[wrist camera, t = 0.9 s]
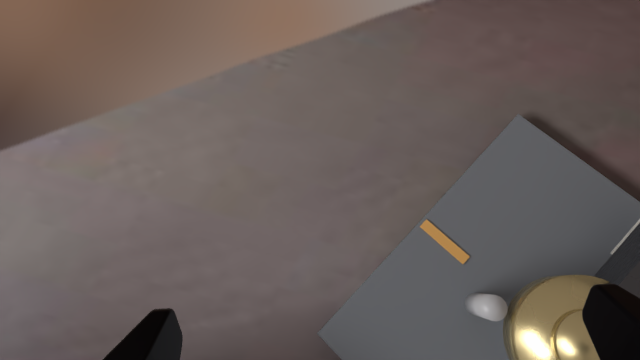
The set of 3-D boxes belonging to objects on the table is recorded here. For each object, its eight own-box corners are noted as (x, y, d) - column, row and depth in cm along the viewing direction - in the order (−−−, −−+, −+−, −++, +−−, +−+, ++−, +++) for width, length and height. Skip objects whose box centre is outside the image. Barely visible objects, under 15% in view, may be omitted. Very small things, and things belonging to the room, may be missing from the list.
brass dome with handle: (746, 237, 20) (806, 230, 17) (582, 435, 19) (617, 462, 16) (634, 159, 22) (672, 140, 19) (477, 338, 21) (492, 347, 18)
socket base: (800, 330, 22) (918, 343, 17) (580, 606, 20) (641, 704, 16) (513, 120, 27) (542, 84, 22) (319, 331, 25) (304, 342, 20)
